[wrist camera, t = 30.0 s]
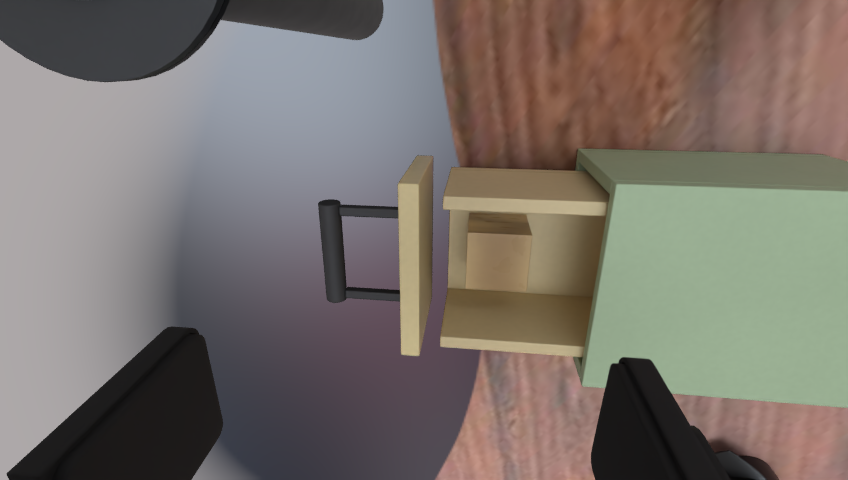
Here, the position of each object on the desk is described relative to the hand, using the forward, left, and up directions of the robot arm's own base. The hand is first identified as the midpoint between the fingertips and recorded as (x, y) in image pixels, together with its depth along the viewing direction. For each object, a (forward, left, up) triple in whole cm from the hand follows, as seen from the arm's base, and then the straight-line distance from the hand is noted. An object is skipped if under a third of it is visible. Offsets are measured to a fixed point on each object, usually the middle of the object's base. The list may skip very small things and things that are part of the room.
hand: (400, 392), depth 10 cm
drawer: (+2, -5, -23) cm, 24 cm away
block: (+3, -5, -22) cm, 23 cm away
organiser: (+16, -5, -24) cm, 29 cm away
